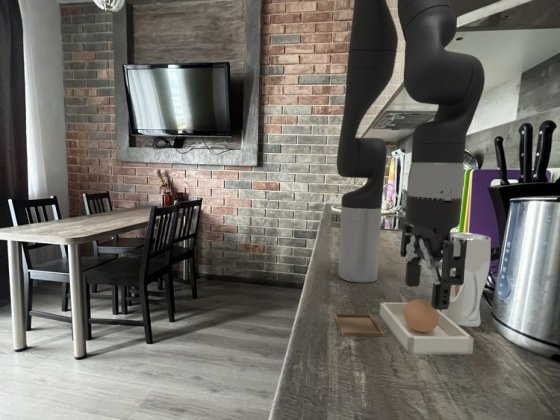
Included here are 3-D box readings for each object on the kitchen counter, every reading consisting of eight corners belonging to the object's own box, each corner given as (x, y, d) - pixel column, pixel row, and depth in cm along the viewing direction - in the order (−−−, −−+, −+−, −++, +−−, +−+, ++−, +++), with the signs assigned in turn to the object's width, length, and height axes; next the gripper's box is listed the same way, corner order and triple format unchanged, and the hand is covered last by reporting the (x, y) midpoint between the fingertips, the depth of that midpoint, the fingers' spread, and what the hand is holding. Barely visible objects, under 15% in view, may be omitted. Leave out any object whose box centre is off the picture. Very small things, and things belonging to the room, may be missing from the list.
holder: (333, 318, 54) (333, 313, 54) (370, 318, 55) (370, 313, 55) (341, 338, 48) (341, 333, 48) (384, 338, 48) (384, 333, 48)
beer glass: (442, 307, 60) (449, 230, 58) (485, 318, 55) (494, 235, 53) (433, 320, 54) (440, 235, 52) (480, 334, 50) (489, 242, 48)
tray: (378, 316, 55) (379, 302, 55) (428, 316, 56) (430, 302, 55) (408, 356, 43) (409, 338, 43) (472, 356, 44) (473, 338, 43)
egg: (397, 322, 52) (400, 293, 51) (427, 322, 52) (430, 294, 51) (411, 338, 47) (413, 306, 46) (444, 338, 47) (447, 307, 47)
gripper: (390, 189, 54) (384, 279, 56) (434, 198, 40) (424, 318, 42) (432, 190, 54) (425, 279, 56) (491, 199, 40) (478, 318, 42)
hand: (424, 296), depth 49 cm, fingers open, 8 cm apart
